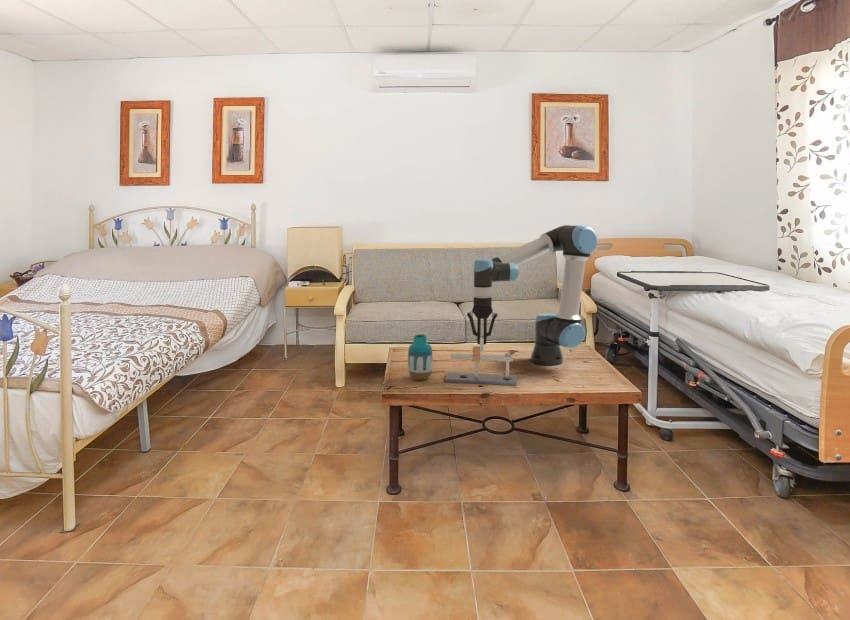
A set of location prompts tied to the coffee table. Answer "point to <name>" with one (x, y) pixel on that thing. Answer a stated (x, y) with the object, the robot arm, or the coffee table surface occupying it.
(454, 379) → the flange plate
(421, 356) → the vase
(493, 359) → the bar
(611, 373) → the coffee table surface
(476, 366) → the block
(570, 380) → the coffee table surface
